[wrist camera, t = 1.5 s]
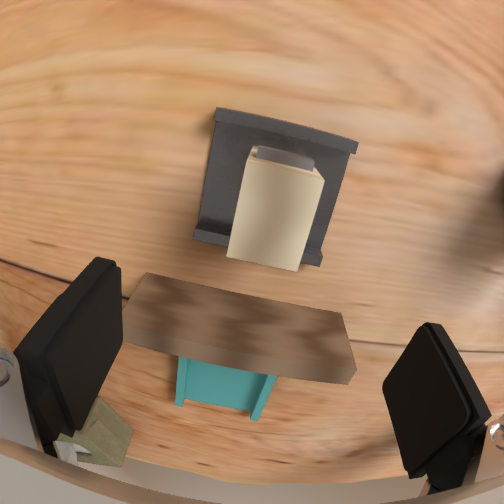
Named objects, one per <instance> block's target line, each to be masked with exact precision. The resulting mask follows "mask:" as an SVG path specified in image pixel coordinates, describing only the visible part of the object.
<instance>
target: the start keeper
mask: <svg viewBox="0 0 504 504" xmlns="http://www.w3.org/2000/svg"><path fill="white" fill-rule="evenodd" d="M214 120H216V121H217V122H216V127H215V132H214V137H213V142H212V147H211V152H210V157H209V163H208V168H207V174H206V179H205V185H204V191H203V197H202V202H201V209H200V215H199V221H198V224H197V225H196V227H195V229H194V236H193V240H198V241H202V242H207V243H211V244H216V245H221V246H225V247H228V246H229V241H230V237H231V232H232V227H233V222H234V217H235V213H236V208H237V203H238V198H239V194H240V189H241V184H242V180H243V175H244V170H245V166H246V161H247V159H248V157H249V154H250V152H251V149H252V147H253V145H254V146H259V145H261V146H266V147H270V148H275V149H279V150H283V151H287V152H291V153H295V154H299V155H303V156H307V157H311V158H312V159H313V161H314V162H315V165H314V167H315V168H316V169H317V171H318V172H319V173H320V175H321V176H322V177H323V179H324V180H325V182H324V185H323V189H322V192H321V196H320V199H319V202H318V206H317V209H316V212H315V216H314V219H313V222H312V226H311V229H310V232H309V235H308V239H307V242H306V245H305V248H304V251H303V255H302V258H301V261H300V263H304V264H308V265H313V266H317V267H320V264H321V261H322V258H323V256H322V253H321V250H320V249H321V246H322V243H323V240H324V237H325V234H326V231H327V228H328V225H329V222H330V218H331V215H332V212H333V209H334V206H335V203H336V199H337V196H338V193H339V190H340V186H341V183H342V180H343V176H344V173H345V169H346V166H347V162H348V159H349V155H350V153H352V154H356V150H357V147H358V143H359V142H357V141H354V140H351V139H348V138H345V137H342V136H338V135H335V134H332V133H328V132H325V131H321V130H318V129H314V128H310V127H307V126H303V125H299V124H295V123H291V122H287V121H283V120H279V119H274V118H270V117H265V116H261V115H256V114H251V113H247V112H242V111H236V110H231V109H226V108H219V107H216V112H215V117H214Z"/></svg>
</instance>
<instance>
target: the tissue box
mask: <svg viewBox="0 0 504 504" xmlns="http://www.w3.org/2000/svg"><path fill="white" fill-rule="evenodd" d="M133 432H134V430H133V429H132V428H131V427H130V426H128V425H127V424H126V423H125V422H124V421H123V420H122V419H121V418H120V417H119V416H118V415H117V413H116V412H115V411H114V410H113V409H112V408H111V407H110V406H109V405H108V404H107V403H106V402H105V401H104V400H103V399H102V398H101V397H100V396H99V397H96V399H95V401H94V404H93V406H92V408H91V410H90V412H89V415H88V417H87V419H86V421H85V424H84V426H83V428H82V429H81V430H80V431H78V430H76V431H75V433H74V435H73V437H72V438H71V437H69V436H67V435H64V434H62V433H60V435H59V437H58V439H57V440H56V441H55V443H56V445H57V448H58V451H59V454H60V457H61V459H62V460H63V461H65V462H68V463H70V464H73V465H75V466H78V464H77V461H80V462H86V463H92V464H99V465H106V466H114V467H122V464H123V461H124V458H125V455H126V452H127V449H128V446H129V443H130V440H131V438H132V435H133Z"/></svg>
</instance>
